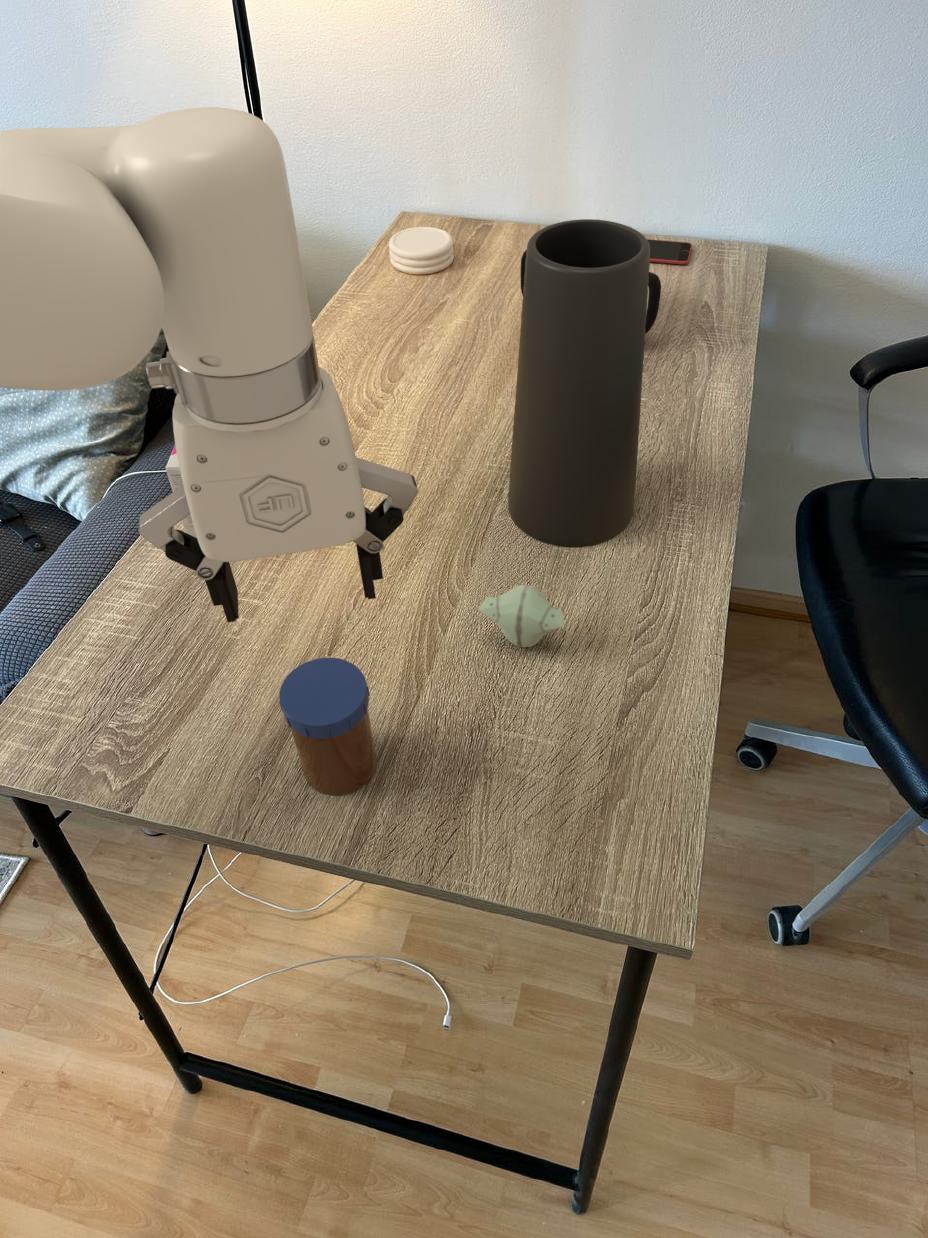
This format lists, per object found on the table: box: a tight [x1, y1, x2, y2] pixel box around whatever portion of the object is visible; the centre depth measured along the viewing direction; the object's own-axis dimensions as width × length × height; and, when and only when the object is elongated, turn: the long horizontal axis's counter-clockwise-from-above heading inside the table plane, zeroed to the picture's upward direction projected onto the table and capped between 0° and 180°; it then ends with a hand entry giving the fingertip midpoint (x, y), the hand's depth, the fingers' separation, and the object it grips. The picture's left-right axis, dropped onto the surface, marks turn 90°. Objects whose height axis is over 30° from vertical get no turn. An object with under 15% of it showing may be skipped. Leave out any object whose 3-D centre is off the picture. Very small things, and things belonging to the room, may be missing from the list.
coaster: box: [388, 226, 455, 276], centre depth 139 cm, size 10×10×4 cm
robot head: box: [477, 584, 565, 648], centre depth 82 cm, size 8×4×7 cm, turn 73°
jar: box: [290, 708, 378, 796], centre depth 72 cm, size 6×6×9 cm
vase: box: [507, 218, 651, 548], centre depth 88 cm, size 14×14×29 cm
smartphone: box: [646, 238, 693, 266], centre depth 139 cm, size 7×1×14 cm
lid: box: [278, 657, 370, 739], centre depth 69 cm, size 7×7×2 cm
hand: (301, 595), depth 61 cm, fingers open, 8 cm apart
